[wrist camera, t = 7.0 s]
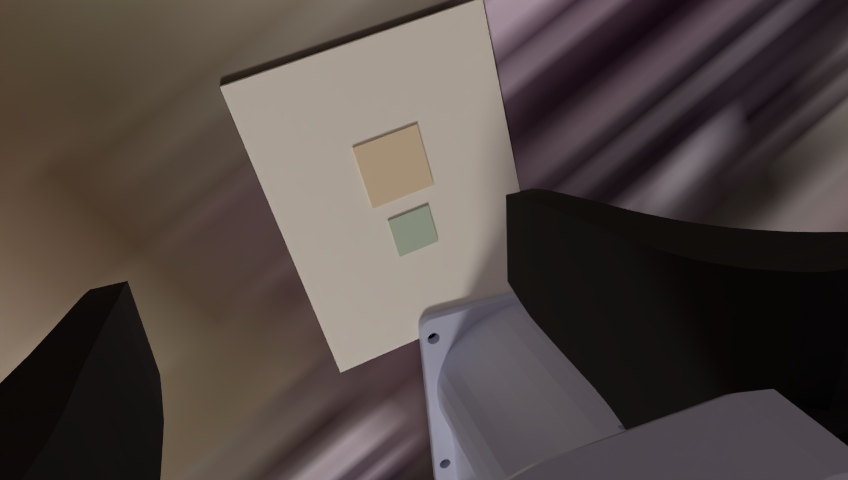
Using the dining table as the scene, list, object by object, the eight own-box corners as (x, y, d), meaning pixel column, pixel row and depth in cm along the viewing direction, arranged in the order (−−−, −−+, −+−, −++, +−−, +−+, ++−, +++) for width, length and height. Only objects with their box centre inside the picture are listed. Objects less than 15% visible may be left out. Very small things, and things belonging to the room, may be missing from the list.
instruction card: (536, 284, 27) (539, 287, 27) (339, 369, 26) (340, 374, 26) (479, -3, 21) (483, -2, 21) (219, 85, 20) (220, 87, 20)
